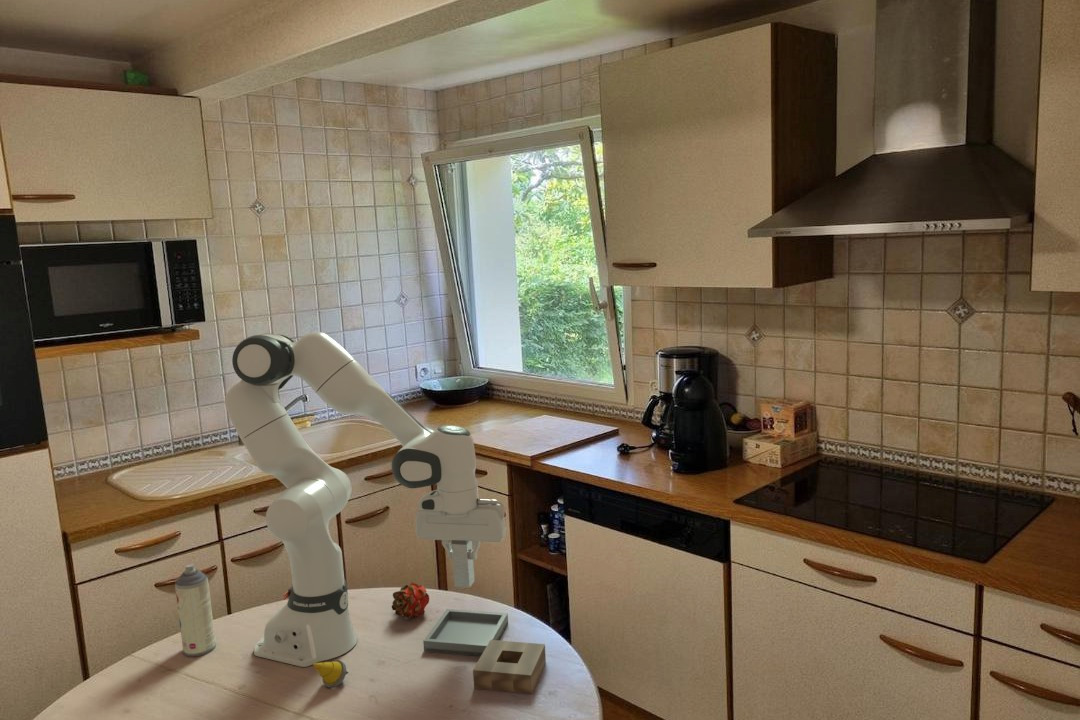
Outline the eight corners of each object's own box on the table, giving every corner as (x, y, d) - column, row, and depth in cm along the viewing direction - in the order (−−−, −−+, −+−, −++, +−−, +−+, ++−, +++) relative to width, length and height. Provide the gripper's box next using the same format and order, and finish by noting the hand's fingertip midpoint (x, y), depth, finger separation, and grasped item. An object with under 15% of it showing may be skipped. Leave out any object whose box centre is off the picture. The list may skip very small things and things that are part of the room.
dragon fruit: (400, 634, 186) (416, 617, 198) (428, 613, 185) (442, 597, 196) (379, 604, 186) (396, 589, 198) (406, 583, 185) (422, 569, 197)
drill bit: (354, 686, 163) (322, 672, 156) (333, 695, 164) (301, 681, 157) (355, 661, 166) (323, 646, 160) (334, 669, 168) (302, 655, 161)
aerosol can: (190, 642, 183) (180, 560, 180) (220, 640, 183) (210, 558, 180) (178, 657, 176) (167, 572, 173) (209, 656, 177) (198, 571, 173)
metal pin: (454, 586, 177) (451, 539, 175) (459, 580, 180) (456, 533, 178) (469, 587, 176) (466, 540, 174) (474, 580, 179) (471, 534, 177)
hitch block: (474, 688, 159) (472, 670, 159) (491, 657, 171) (490, 639, 170) (532, 694, 156) (531, 675, 156) (545, 661, 168) (544, 644, 167)
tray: (424, 651, 174) (423, 640, 174) (447, 618, 189) (446, 608, 188) (489, 656, 171) (488, 646, 170) (508, 623, 185) (507, 613, 185)
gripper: (507, 495, 175) (511, 554, 177) (421, 492, 180) (425, 550, 182) (499, 504, 169) (503, 566, 171) (410, 502, 174) (415, 561, 176)
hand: (462, 558), depth 177 cm, fingers closed on metal pin, 3 cm apart
